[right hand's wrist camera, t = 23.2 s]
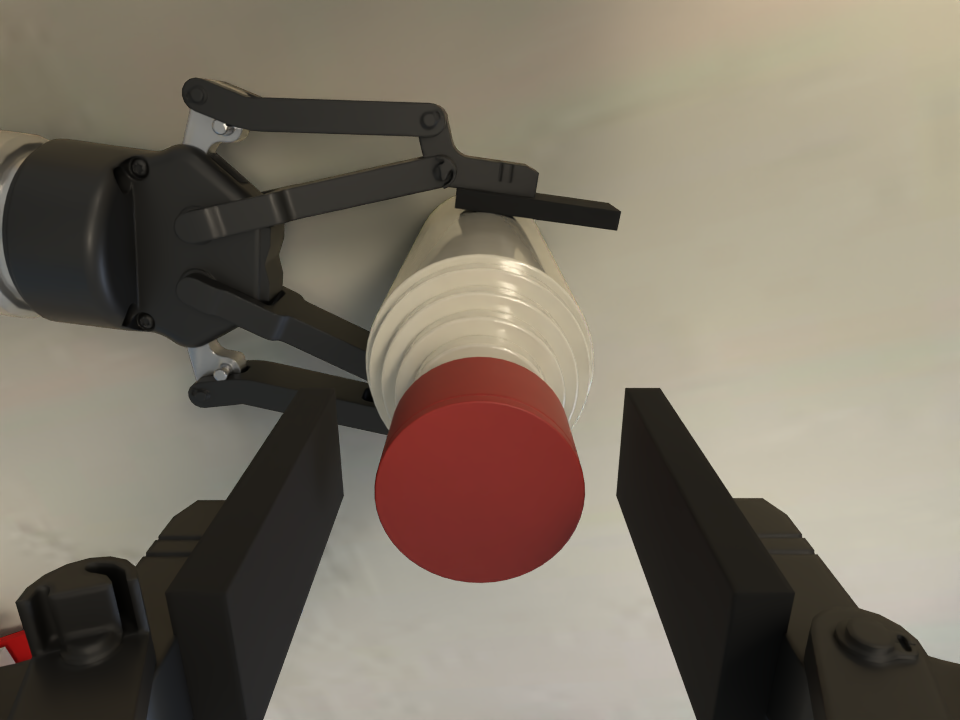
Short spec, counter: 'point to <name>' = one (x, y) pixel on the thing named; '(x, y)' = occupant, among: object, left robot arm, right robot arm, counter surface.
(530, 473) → the cap
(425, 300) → the bottle
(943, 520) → the counter surface
